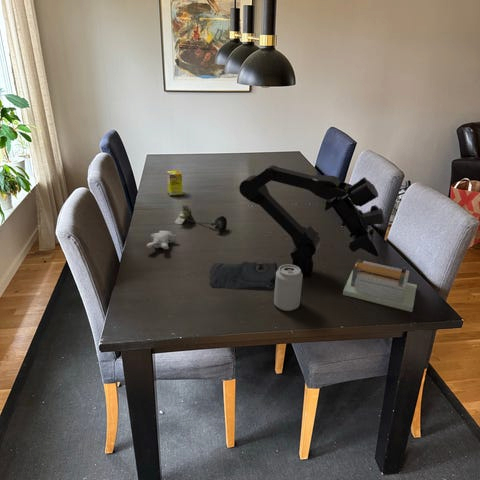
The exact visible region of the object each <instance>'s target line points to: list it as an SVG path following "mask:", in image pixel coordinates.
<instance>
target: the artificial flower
mask: <svg viewBox="0 0 480 480" xmlns="http://www.w3.org/2000/svg"><path fill="white" fill-rule="evenodd" d="M181 209H182V211H180V212H179V214H177V216H178V217H177V218H176V219H175V221H174V223H175V224H177V225H182V224H183V223H184V222H185V221H188V222H190V223H192V224H197V225H198V224H199V225H200V224H201V225H203V224H205V225H210V226H214V230H217V231H218V232H219V233H222V232H225V231H226V230H227V228H228V227H227V226H228V222H227V218H226V217H225V216H223V215H220V216H218V217H216V218H215V220H214V222H213V223H212V222H197V221H196V220H195V219H194V217H193V215H192V209H191V206H190V205H186V204H183V205H182V206H181Z"/></svg>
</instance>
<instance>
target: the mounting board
mask: <svg viewBox="0 0 480 480" xmlns="http://www.w3.org/2000/svg"><path fill="white" fill-rule="evenodd" d="M352 274H353V269H352V270H351V272H350V275H349V277H348V279H347V281H346V283H345V286H344V288H343V289H342V295H343V296H347V297H351V298H355V299H359V300H363V301H368V302H369V303H371V302H372V303H374V304H379V305H382V306H386V307H391V308H394V309H399V310H403V311H407V312H410V313H413V310H414V304H415V297H416V291H417V286H418V285H417V284H414V283H410V282H407V285H406V290H405V294H404V299H403V302H401V303H398V302H394V301H390V300H386V299H382V298H378V297H374V296H370V295H366V294H362V293H358V292H356V291H354V289H355V287H354V286H351V280H352ZM355 284H356V283H355Z"/></svg>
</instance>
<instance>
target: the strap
mask: <svg viewBox="0 0 480 480" xmlns="http://www.w3.org/2000/svg"><path fill="white" fill-rule="evenodd" d="M354 267H358V270H362V271H367V272H371V273H375V274H379V275H384V276H388V277H392V278H396V279H400V275H404V276H405V273H404V272H400V271H396V270H391V269H387V268H383V267H378V266H374V265H369V264H365V263H363V262H362V261H361V262H357V261H356V262H355V265H354Z"/></svg>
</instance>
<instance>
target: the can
mask: <svg viewBox="0 0 480 480" xmlns="http://www.w3.org/2000/svg"><path fill="white" fill-rule="evenodd" d="M302 285H303V274H302V273H301V269H300V268H299V267H297V266H295V265H291V264H282V265H280V266H279V267H278V269H277V272H276V280H275V288H274V295H273V296H274V297H273V304H274V306H276V307H277V308H278V309H279V310H282V311H285V312H291V311H294V310H296V309H298V308H299V306H300V302H301V294H302V287H303V286H302Z"/></svg>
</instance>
